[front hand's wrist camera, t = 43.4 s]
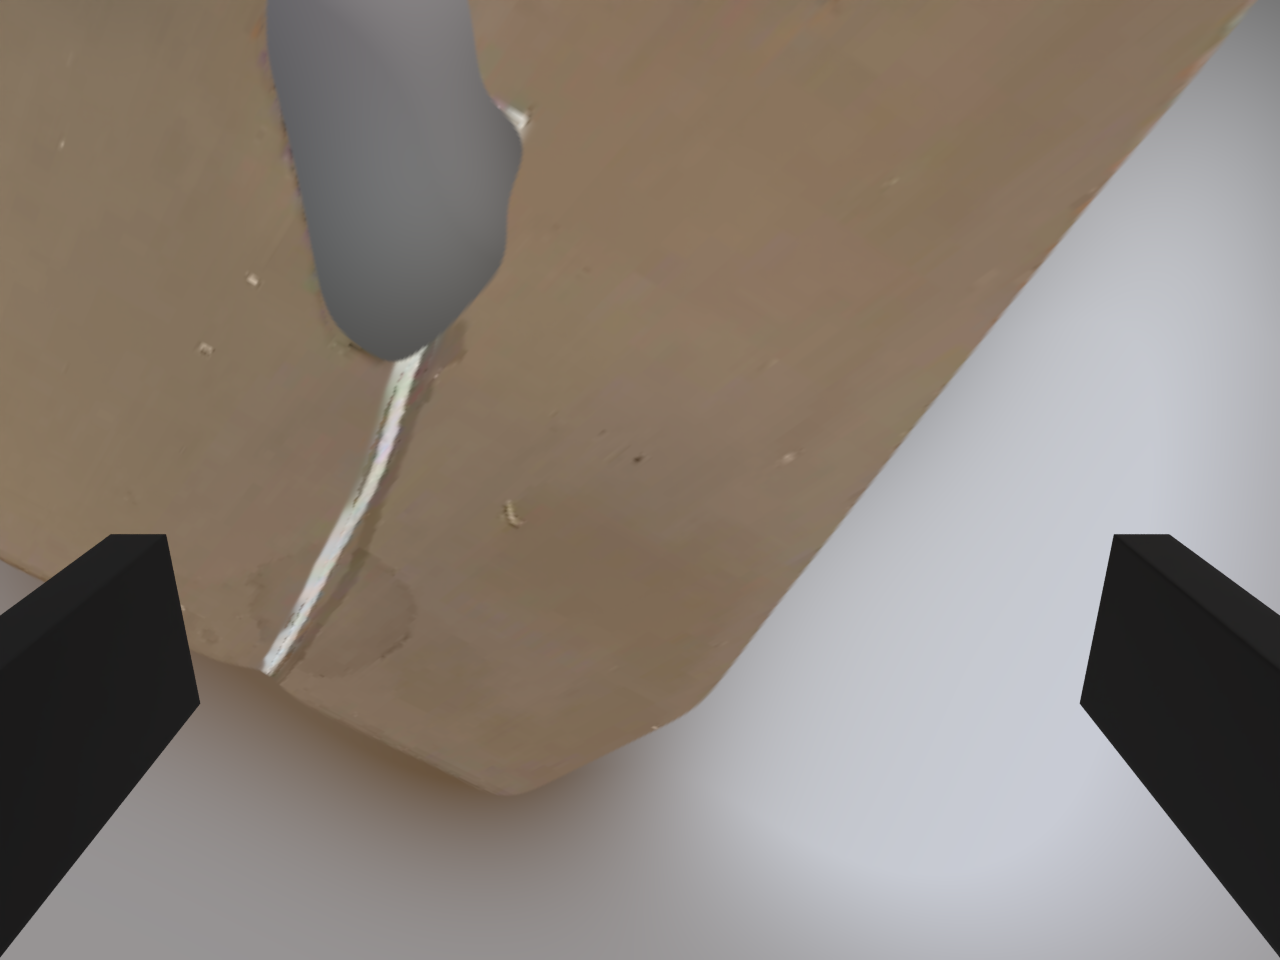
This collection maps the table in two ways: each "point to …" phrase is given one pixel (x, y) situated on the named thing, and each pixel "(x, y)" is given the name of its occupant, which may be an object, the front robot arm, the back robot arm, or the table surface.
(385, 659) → the table surface
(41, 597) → the front robot arm
